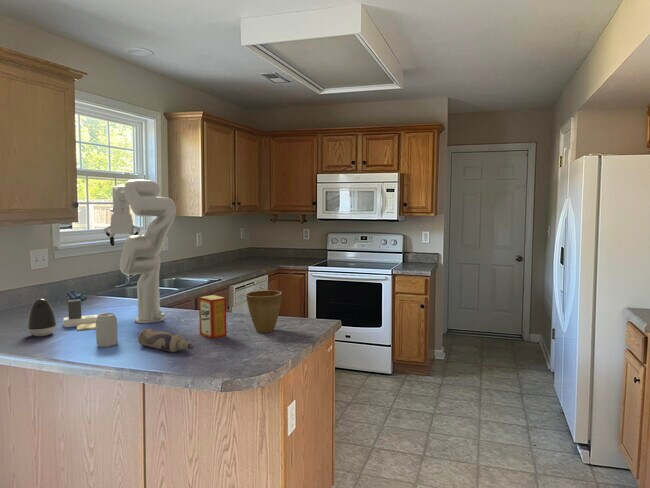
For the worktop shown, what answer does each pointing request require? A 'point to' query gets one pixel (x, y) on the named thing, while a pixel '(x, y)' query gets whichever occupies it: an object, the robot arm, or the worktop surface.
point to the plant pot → (264, 309)
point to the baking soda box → (212, 316)
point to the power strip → (80, 320)
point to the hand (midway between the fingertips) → (123, 245)
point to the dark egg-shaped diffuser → (41, 318)
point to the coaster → (86, 326)
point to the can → (106, 330)
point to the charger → (74, 309)
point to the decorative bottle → (163, 340)
